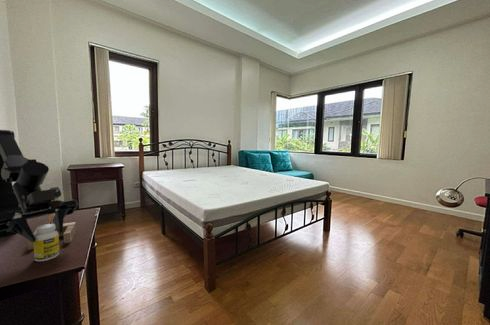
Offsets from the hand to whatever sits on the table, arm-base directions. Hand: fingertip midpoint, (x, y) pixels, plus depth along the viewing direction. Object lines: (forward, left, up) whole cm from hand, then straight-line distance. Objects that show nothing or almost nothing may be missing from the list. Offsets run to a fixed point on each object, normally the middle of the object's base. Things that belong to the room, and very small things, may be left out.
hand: (48, 237), depth 60 cm
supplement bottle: (-1, +1, -7) cm, 7 cm away
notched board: (-10, +11, -7) cm, 16 cm away
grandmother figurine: (-26, +26, -7) cm, 37 cm away
